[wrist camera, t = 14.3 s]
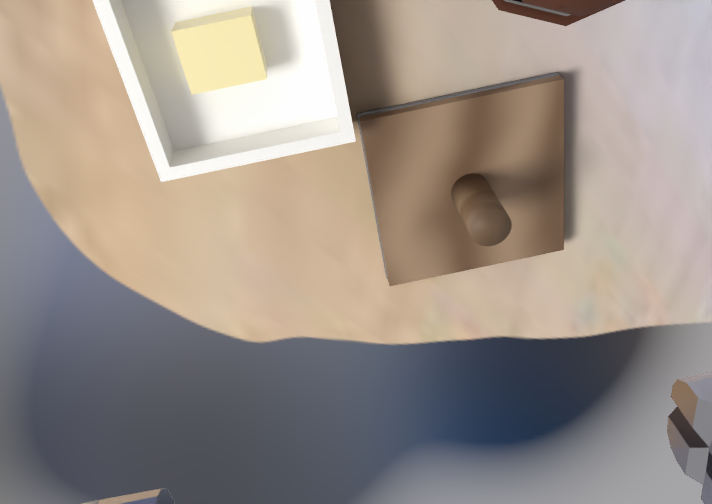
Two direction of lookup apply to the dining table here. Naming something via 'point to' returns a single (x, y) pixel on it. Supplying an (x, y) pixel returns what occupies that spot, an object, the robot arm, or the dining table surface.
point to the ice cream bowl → (555, 9)
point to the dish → (236, 108)
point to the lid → (468, 179)
